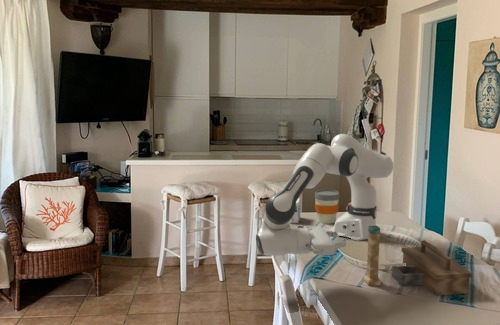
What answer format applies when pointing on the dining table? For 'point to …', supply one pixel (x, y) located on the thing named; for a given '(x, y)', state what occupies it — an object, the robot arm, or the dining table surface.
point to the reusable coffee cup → (326, 205)
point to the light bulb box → (296, 213)
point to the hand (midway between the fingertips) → (341, 238)
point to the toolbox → (432, 271)
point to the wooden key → (373, 256)
